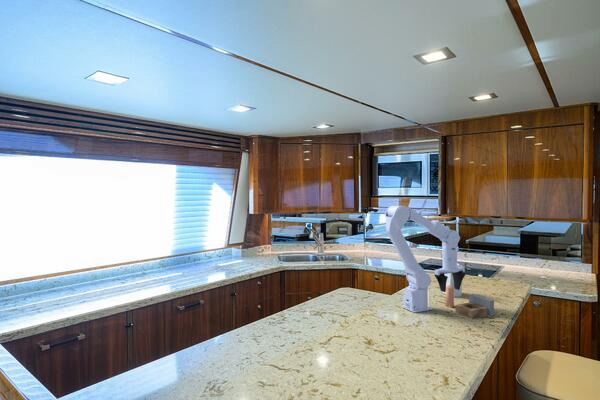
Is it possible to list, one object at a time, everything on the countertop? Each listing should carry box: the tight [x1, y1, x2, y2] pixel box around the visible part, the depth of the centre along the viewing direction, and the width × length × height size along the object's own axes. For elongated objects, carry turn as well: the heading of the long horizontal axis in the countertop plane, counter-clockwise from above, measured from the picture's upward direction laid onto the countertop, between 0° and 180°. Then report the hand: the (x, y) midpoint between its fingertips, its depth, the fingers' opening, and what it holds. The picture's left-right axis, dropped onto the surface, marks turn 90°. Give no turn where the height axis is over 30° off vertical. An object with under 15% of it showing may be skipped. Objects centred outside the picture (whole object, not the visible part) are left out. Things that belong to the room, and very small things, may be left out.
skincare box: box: [441, 262, 463, 298], centre depth 168 cm, size 8×6×15 cm
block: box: [455, 302, 489, 319], centre depth 141 cm, size 8×8×3 cm
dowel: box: [445, 286, 455, 308], centre depth 151 cm, size 3×3×8 cm
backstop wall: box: [468, 293, 495, 317], centre depth 143 cm, size 2×10×6 cm, turn 22°
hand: (450, 290), depth 151 cm, fingers open, 7 cm apart
